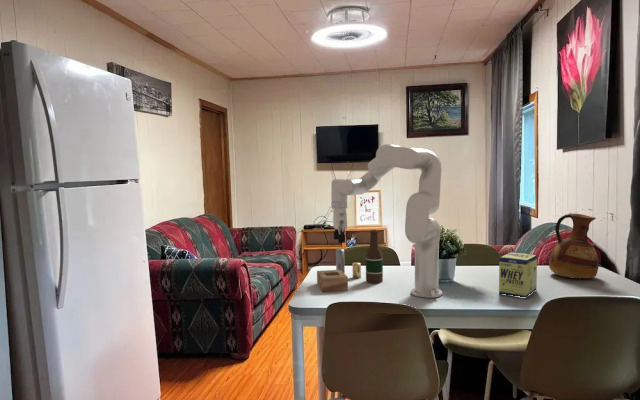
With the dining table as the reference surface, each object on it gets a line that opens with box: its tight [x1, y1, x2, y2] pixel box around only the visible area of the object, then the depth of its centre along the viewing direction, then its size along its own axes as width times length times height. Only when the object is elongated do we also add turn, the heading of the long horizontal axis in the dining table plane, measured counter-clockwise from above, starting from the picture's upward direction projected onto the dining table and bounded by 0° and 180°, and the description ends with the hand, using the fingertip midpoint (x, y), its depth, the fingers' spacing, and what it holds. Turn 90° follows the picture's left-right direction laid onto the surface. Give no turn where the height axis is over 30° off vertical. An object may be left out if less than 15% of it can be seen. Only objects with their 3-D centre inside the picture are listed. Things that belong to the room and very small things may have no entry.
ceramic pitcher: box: [548, 212, 599, 279], centre depth 200 cm, size 20×20×30 cm
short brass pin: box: [352, 262, 362, 280], centre depth 206 cm, size 4×4×7 cm
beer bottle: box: [365, 229, 384, 284], centre depth 197 cm, size 8×8×24 cm
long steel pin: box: [335, 248, 346, 275], centre depth 204 cm, size 4×4×14 cm
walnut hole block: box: [316, 269, 349, 293], centre depth 189 cm, size 14×11×6 cm
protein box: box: [498, 251, 538, 297], centre depth 176 cm, size 10×16×16 cm
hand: (339, 241), depth 203 cm, fingers open, 9 cm apart
